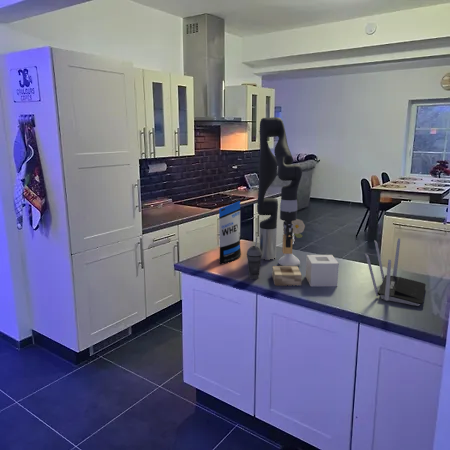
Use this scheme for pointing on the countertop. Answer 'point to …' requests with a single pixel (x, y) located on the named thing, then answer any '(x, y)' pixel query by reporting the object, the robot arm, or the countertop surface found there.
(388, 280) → the wireless router
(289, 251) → the plug
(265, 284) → the countertop surface
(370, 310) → the countertop surface
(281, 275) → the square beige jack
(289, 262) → the flower in vase
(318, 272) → the white square socket block
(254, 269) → the beverage cup
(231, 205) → the protein powder
